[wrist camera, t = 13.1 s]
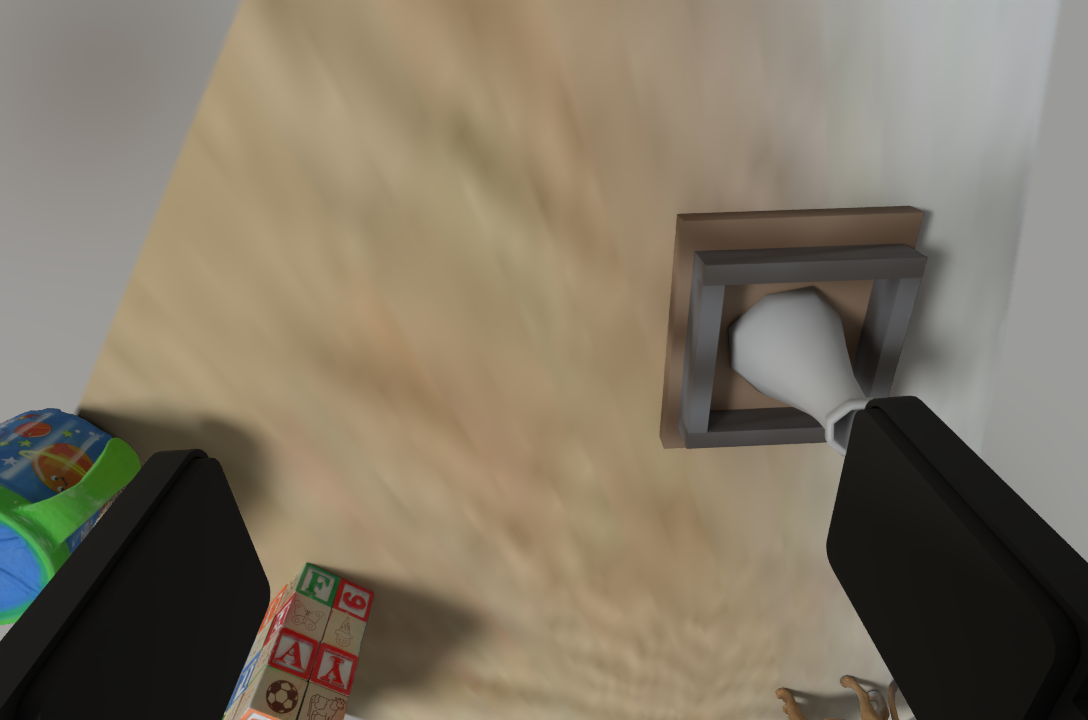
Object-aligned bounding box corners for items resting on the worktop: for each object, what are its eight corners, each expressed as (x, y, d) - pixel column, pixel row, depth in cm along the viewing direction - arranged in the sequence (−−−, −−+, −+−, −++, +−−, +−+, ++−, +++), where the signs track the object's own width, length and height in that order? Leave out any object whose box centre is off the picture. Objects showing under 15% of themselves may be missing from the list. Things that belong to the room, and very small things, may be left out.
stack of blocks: (257, 723, 58) (199, 882, 48) (192, 699, 56) (116, 860, 46) (376, 591, 51) (339, 744, 40) (306, 558, 49) (247, 711, 38)
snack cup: (15, 530, 46) (-106, 652, 37) (-88, 414, 41) (-255, 523, 32) (211, 483, 45) (136, 598, 36) (130, 359, 40) (19, 456, 31)
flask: (819, 264, 37) (914, 339, 28) (853, 356, 40) (948, 449, 32) (708, 321, 39) (765, 409, 30) (749, 405, 42) (812, 507, 33)
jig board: (677, 214, 37) (694, 234, 33) (909, 205, 37) (951, 225, 34) (659, 436, 45) (672, 471, 41) (852, 427, 45) (881, 461, 41)
